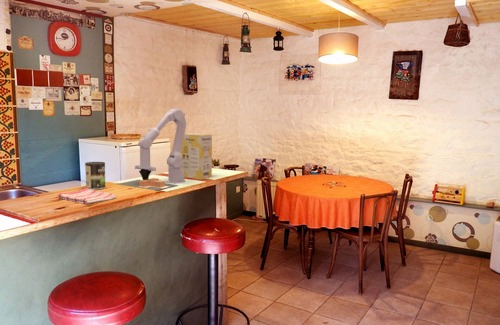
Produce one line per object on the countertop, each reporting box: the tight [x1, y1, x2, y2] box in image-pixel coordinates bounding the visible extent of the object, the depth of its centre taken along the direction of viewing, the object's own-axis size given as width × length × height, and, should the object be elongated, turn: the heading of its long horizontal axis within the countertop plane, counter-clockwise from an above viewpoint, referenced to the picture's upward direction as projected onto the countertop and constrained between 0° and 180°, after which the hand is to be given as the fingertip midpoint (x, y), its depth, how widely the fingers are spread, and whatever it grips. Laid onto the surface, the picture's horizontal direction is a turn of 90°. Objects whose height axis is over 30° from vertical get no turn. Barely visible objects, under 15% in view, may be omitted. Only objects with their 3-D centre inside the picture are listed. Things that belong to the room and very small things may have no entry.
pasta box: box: [181, 132, 213, 180], centre depth 270 cm, size 18×10×28 cm, turn 53°
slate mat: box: [117, 179, 179, 192], centre depth 240 cm, size 18×31×1 cm, turn 60°
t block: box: [139, 177, 166, 187], centre depth 236 cm, size 12×12×3 cm
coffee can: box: [84, 161, 106, 191], centre depth 228 cm, size 10×10×14 cm
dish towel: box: [57, 187, 117, 205], centre depth 204 cm, size 17×23×4 cm
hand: (145, 182), depth 240 cm, fingers closed
